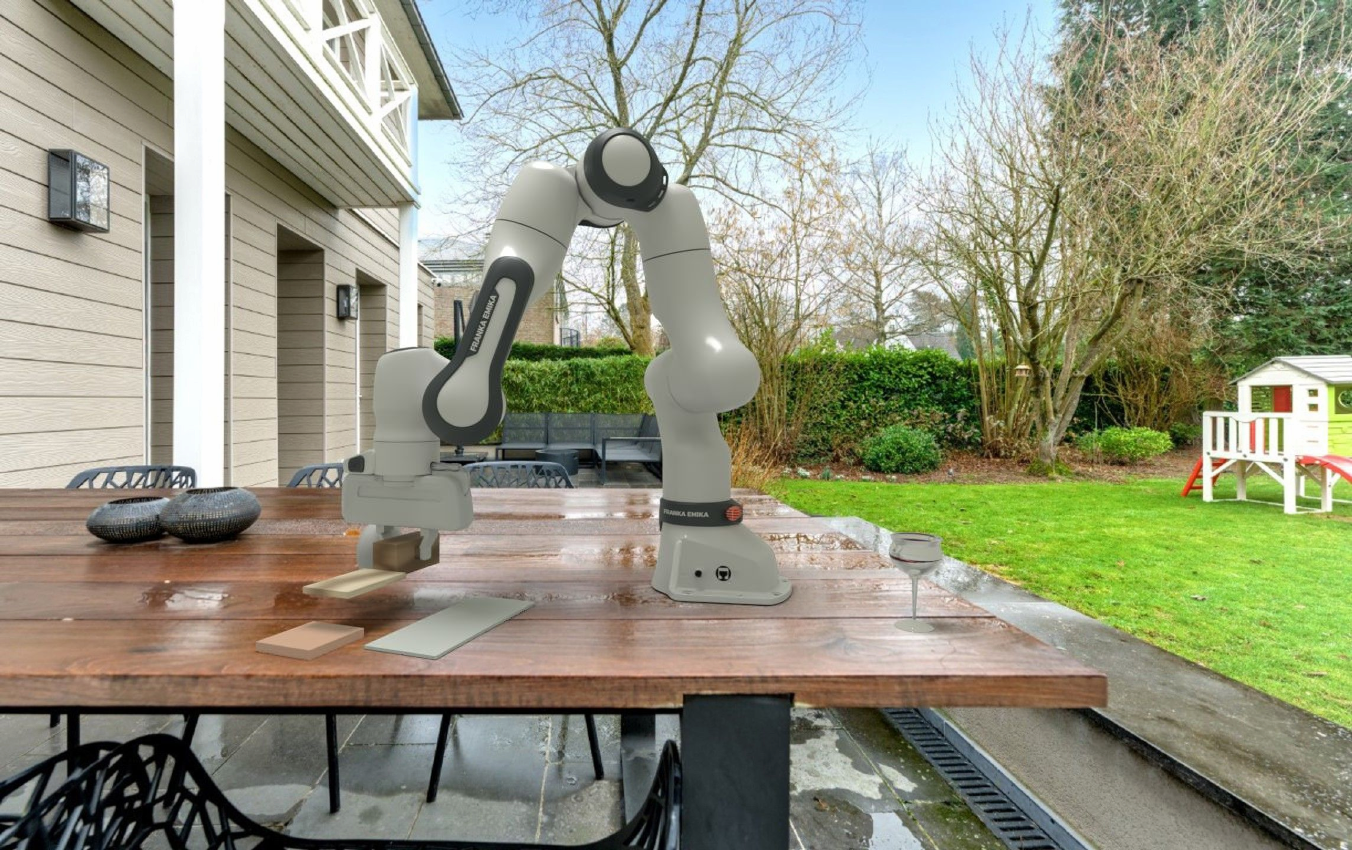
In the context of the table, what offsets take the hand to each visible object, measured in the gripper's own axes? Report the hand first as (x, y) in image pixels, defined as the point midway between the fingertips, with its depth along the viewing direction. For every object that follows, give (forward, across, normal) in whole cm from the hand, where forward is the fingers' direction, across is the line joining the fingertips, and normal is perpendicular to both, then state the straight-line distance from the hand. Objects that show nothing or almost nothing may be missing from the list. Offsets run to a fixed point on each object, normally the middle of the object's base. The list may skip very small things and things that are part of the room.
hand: (407, 557), depth 94 cm
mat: (+7, -12, +4) cm, 15 cm away
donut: (+7, +14, -10) cm, 19 cm away
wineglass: (+7, -69, -15) cm, 71 cm away
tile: (+7, 0, +12) cm, 14 cm away
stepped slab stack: (+2, 0, +5) cm, 5 cm away
